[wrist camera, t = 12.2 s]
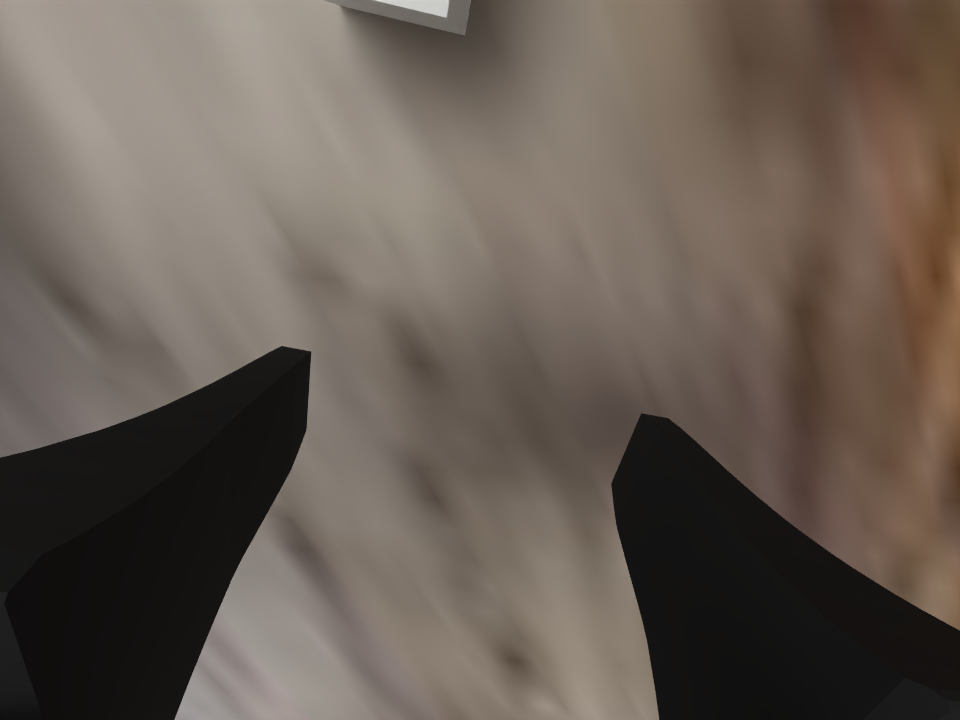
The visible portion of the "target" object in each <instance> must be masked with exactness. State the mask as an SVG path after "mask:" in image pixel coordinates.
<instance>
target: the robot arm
mask: <svg viewBox="0 0 960 720" xmlns="http://www.w3.org/2000/svg"><path fill="white" fill-rule="evenodd" d="M310 362H311V352H310V351H305V350H300V349H294V348H289V347H284V346H281V347H279V348H277V349H275V350H273V351H271V352H269V353H267V354H265V355H264V356H262V357H260V358H258V359H256V360H255V361H253V362H251V363H249V364H247V365H245V366H244V367H242V368H240V369H238V370H236V371H234V372H232V373H231V374H229V375H227V376H225V377H223V378H221V379H219V380H217V381H215V382H214V383H212V384H210V385H208V386H205V387H203V388H201V389H199V390H197V391H195V392H193V393H190V394H188V395H186V396H184V397H182V398H180V399H178V400H176V401H173V402H171V403H169V404H167V405H165V406H162V407H160V408H158V409H155V410H153V411H150V412H148V413H145V414H143V415H140V416H138V417H135V418H132V419H130V420H127V421H124V422H121V423H119V424H116V425H113V426H110V427H108V428H105V429H102V430H99V431H95V432H92V433H89V434H85V435H82V436H79V437H75V438H72V439H68V440H65V441H62V442H58V443H55V444H52V445H48V446H45V447H42V448H38V449H34V450H30V451H26V452H22V453H18V454H14V455H10V456H6V457H2V458H0V720H174V719H175V716H176V714H177V711H178V709H179V706H180V704H181V701H182V698H183V696H184V693H185V691H186V688H187V685H188V683H189V680H190V678H191V675H192V673H193V670H194V668H195V666H196V663H197V661H198V658H199V656H200V653H201V651H202V648H203V646H204V643H205V641H206V639H207V636H208V634H209V631H210V629H211V626H212V624H213V622H214V619H215V617H216V615H217V612H218V610H219V608H220V605H221V603H222V601H223V598H224V596H225V594H226V591H227V589H228V587H229V584H230V582H231V580H232V577H233V575H234V573H235V571H236V569H237V567H238V565H239V563H240V561H241V559H242V557H243V556H244V554H245V552H246V550H247V548H248V547H249V545H250V543H251V541H252V539H253V538H254V536H255V534H256V532H257V531H258V529H259V527H260V525H261V523H262V522H263V520H264V518H265V516H266V514H267V513H268V511H269V509H270V507H271V505H272V504H273V502H274V500H275V498H276V496H277V494H278V493H279V491H280V489H281V487H282V485H283V484H284V482H285V480H286V478H287V476H288V474H289V472H290V471H291V468H292V466H293V463H294V461H295V458H296V456H297V453H298V451H299V448H300V446H301V443H302V440H303V438H304V435H305V432H306V428H307V411H308V395H309V379H310ZM611 484H612V493H613V503H614V511H615V518H616V525H617V529H618V533H619V537H620V540H621V544H622V548H623V552H624V555H625V559H626V563H627V566H628V570H629V574H630V577H631V581H632V584H633V588H634V592H635V595H636V599H637V602H638V606H639V610H640V613H641V617H642V621H643V625H644V629H645V634H646V638H647V643H648V649H649V655H650V661H651V667H652V673H653V679H654V685H655V691H656V698H657V705H658V713H659V720H960V631H959V630H957V629H956V628H954V627H952V626H950V625H948V624H946V623H945V622H943V621H941V620H939V619H937V618H936V617H934V616H932V615H930V614H928V613H926V612H925V611H923V610H921V609H919V608H918V607H916V606H914V605H912V604H911V603H909V602H907V601H906V600H904V599H902V598H900V597H899V596H897V595H895V594H894V593H892V592H890V591H889V590H887V589H885V588H884V587H882V586H881V585H879V584H877V583H876V582H874V581H873V580H871V579H870V578H868V577H866V576H865V575H863V574H862V573H860V572H858V571H857V570H855V569H854V568H852V567H851V566H849V565H848V564H846V563H845V562H843V561H842V560H840V559H839V558H837V557H836V556H834V555H833V554H831V553H830V552H828V551H827V550H826V549H824V548H823V547H822V546H820V545H819V544H817V543H816V542H815V541H813V540H812V539H810V538H809V537H808V536H806V535H805V534H804V533H802V532H801V531H799V530H798V529H797V528H795V527H794V526H793V525H792V524H790V523H789V522H788V521H786V520H785V519H784V518H783V517H781V516H780V515H779V514H778V513H776V512H775V511H774V510H773V509H772V508H770V507H769V506H768V505H767V504H765V503H764V502H763V501H762V500H761V499H759V498H758V497H757V496H756V495H755V494H753V493H752V492H751V491H750V490H749V489H748V488H747V487H745V486H744V485H743V484H742V483H741V482H740V481H739V480H737V479H736V478H735V477H734V476H733V475H732V474H731V473H730V472H729V471H727V470H726V469H725V468H724V467H723V466H722V465H721V464H720V463H719V462H718V461H716V460H715V459H714V458H713V457H712V456H711V455H710V454H709V453H708V452H707V451H706V450H704V449H703V448H702V447H701V446H700V445H699V444H698V443H697V442H696V441H695V440H694V439H692V438H691V437H690V436H689V435H688V434H687V433H686V432H684V431H683V430H682V429H681V428H680V427H679V426H677V425H676V424H675V423H674V422H672V421H671V420H670V419H668V418H663V417H658V416H653V415H647V414H642V413H641V416H640V418H639V420H638V423H637V425H636V427H635V430H634V432H633V434H632V437H631V439H630V441H629V444H628V446H627V448H626V451H625V453H624V455H623V458H622V460H621V462H620V465H619V467H618V469H617V472H616V474H615V476H614V479H613V481H612V483H611Z"/></svg>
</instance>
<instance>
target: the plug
mask: <svg viewBox="0 0 960 720" xmlns="http://www.w3.org/2000/svg"><path fill="white" fill-rule="evenodd" d="M325 1H328V2H331V3H334V4H336V5H339V6H343V7H347V8H351V9H355V10H360V11H364V12H368V13H372V14H376V15H381V16H385V17H389V18H393V19H397V20H402V21H406V22H410V23H414V24H418V25H422V26H427V27H431V28H435V29H439V30H443V31H448V32H452V33H456V34H460V35H464V36H465V35H466V29H467V23H468V17H469V10H470V4H471V0H325Z"/></svg>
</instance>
